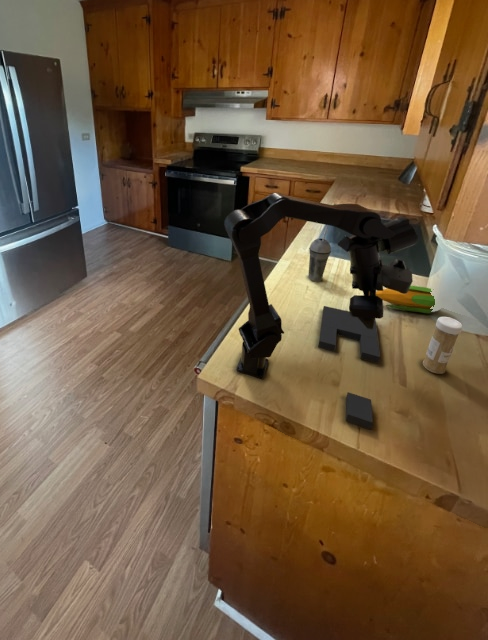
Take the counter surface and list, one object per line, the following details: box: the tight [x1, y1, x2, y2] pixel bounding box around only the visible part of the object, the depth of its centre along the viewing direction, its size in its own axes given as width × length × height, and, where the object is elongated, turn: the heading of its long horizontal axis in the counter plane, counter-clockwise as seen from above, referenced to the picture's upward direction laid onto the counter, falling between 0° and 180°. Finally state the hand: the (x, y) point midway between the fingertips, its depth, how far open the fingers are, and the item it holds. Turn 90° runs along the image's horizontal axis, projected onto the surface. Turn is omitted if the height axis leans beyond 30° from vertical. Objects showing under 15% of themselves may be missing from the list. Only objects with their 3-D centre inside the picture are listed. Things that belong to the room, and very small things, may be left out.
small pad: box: [345, 391, 374, 431], centre depth 67 cm, size 6×4×2 cm
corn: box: [376, 285, 435, 314], centre depth 102 cm, size 7×8×20 cm
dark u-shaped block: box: [317, 305, 381, 364], centre depth 91 cm, size 18×14×2 cm
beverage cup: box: [308, 226, 332, 282], centre depth 117 cm, size 7×7×20 cm
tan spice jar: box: [422, 316, 463, 375], centre depth 77 cm, size 5×5×14 cm
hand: (370, 314), depth 78 cm, fingers open, 9 cm apart
